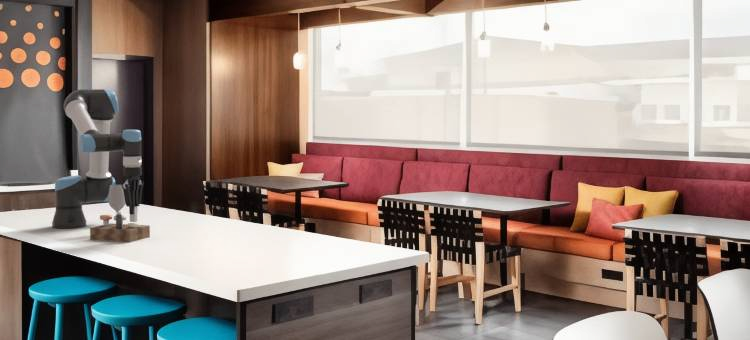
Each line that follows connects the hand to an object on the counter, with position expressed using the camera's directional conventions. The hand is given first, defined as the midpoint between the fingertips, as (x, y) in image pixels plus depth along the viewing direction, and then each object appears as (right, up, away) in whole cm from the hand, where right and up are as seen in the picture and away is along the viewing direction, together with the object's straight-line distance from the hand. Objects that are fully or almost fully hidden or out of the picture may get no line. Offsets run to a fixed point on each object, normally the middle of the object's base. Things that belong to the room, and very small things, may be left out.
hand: (133, 221), depth 364 cm
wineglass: (-13, -6, +21) cm, 25 cm away
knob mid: (-6, -4, +3) cm, 8 cm away
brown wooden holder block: (-6, -7, +3) cm, 10 cm away
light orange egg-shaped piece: (-13, -4, +5) cm, 15 cm away
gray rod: (-5, -3, -4) cm, 7 cm away
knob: (0, -7, 0) cm, 7 cm away
